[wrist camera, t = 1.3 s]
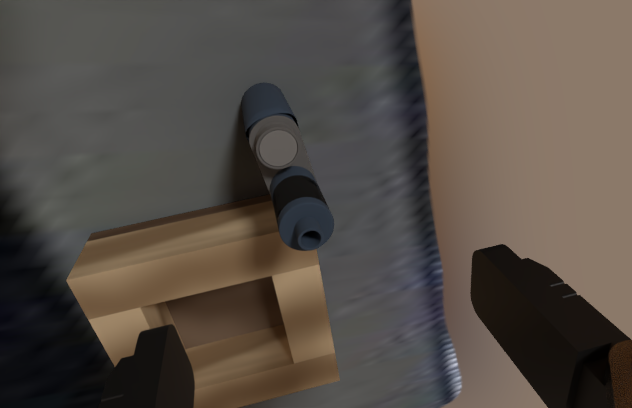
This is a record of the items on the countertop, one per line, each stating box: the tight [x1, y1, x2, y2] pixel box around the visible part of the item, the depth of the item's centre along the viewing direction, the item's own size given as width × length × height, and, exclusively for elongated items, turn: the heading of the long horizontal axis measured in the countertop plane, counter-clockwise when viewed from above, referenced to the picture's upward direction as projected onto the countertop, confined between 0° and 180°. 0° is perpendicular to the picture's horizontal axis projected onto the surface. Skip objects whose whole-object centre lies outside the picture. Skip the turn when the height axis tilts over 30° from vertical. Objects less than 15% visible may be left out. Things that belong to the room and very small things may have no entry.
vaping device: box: [241, 83, 334, 251], centre depth 21 cm, size 3×5×12 cm, turn 17°
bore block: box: [66, 194, 340, 408], centre depth 29 cm, size 14×14×5 cm
